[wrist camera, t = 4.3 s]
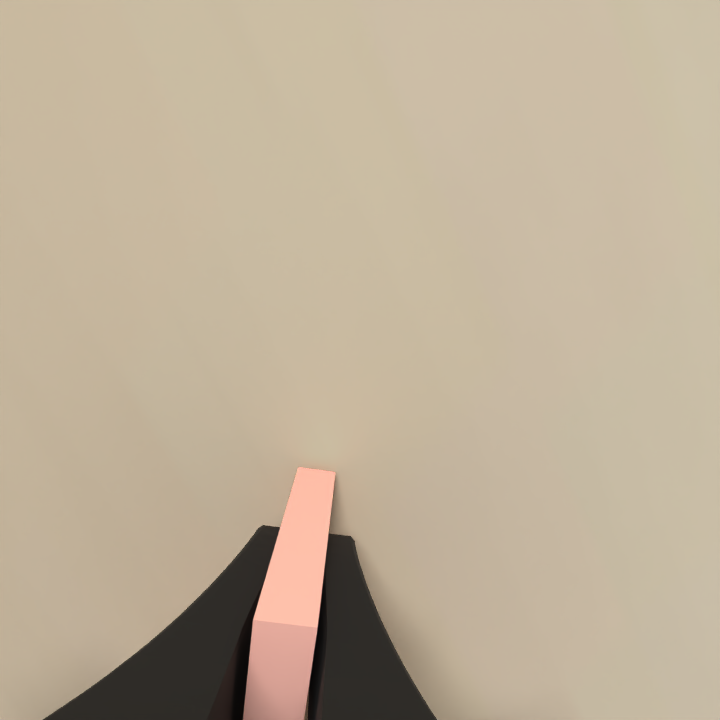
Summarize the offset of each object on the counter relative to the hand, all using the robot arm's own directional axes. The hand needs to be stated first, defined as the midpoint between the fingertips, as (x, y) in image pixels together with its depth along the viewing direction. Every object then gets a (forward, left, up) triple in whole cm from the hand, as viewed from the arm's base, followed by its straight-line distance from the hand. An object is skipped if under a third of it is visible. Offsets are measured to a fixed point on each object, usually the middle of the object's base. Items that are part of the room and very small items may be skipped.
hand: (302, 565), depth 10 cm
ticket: (0, -5, -1) cm, 5 cm away
